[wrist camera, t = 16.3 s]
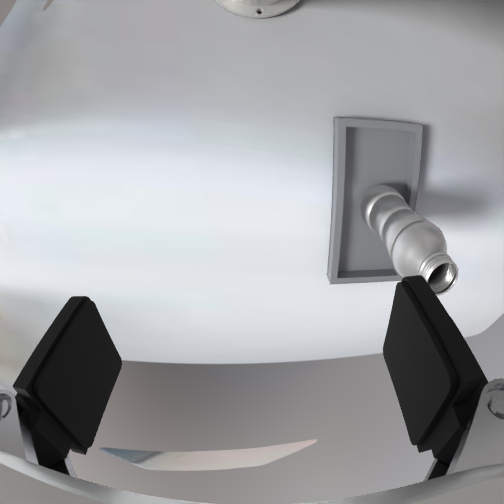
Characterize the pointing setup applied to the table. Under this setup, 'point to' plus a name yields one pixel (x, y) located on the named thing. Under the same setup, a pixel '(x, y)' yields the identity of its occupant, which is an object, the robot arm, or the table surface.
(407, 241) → the plastic bottle
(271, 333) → the table surface
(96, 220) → the table surface
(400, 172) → the grey rectangular tray
